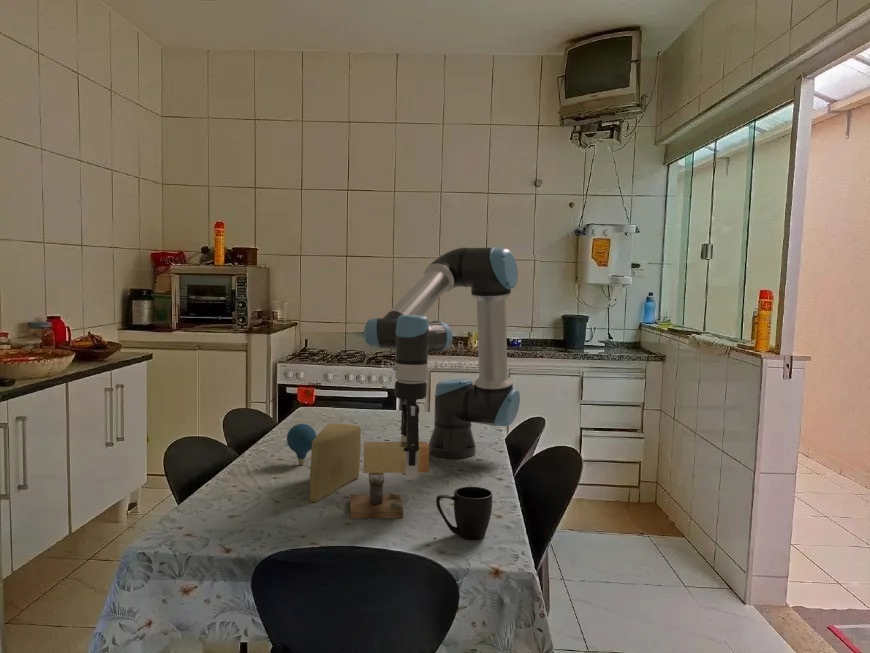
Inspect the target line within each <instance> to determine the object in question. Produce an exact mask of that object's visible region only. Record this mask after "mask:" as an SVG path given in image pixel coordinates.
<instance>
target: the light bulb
mask: <svg viewBox="0 0 870 653" xmlns="http://www.w3.org/2000/svg"><path fill="white" fill-rule="evenodd" d="M316 436H317V434H316V431H315V429H314V428H313V427H312V426H311V425H310V424H306V423H298V424H296V425H295V424H294V425H293V426H292V427H291V428H290V429H289V431H288V432H287V434H286V443H287V446H288V447H289V449H290V450H291V451H293V452H294V453H295V455H296V457H297V465H298V464H299V466H303V465H305V462H306V461H305V459H306V456H307V454H308V453H309V452H310V451H312V442H313V440H314V439H315V438H316Z"/></svg>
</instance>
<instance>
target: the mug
mask: <svg viewBox="0 0 870 653" xmlns="http://www.w3.org/2000/svg"><path fill="white" fill-rule="evenodd" d="M435 498H436V499H435V501H436V502H435V505H436V507H437V508H436V509H437V510H438V511H439V514H440V515H441V518H442V519H443V520H444V521H443V522H445V524H446V525H447V527H448V528H449V530H450V531H451V532H452V533H453V534H454V535H458V536H459V538H461V539H463V540H466V541H473V542H474V541H480V540H484V538H485V536H486V533H487V530H488V528H489V524H490V520H491V515H492V512H493V492H492V491H491V490H490V489H487V488H484V487H481V486H462V487H458V488H456V489H455V490H454V491H453V496H452V495H446V494H440V495H437V496H436V497H435ZM441 499H450V500H451V501H453V513H454V519H455V524H456V526H454V525H452V524H451V523H450V521H449V520H448V519H447V517H446V515H445V513H444V511H443V509H442V507H441V503H440V500H441Z"/></svg>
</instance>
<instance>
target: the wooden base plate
mask: <svg viewBox="0 0 870 653" xmlns="http://www.w3.org/2000/svg"><path fill="white" fill-rule="evenodd" d="M383 485H384V483H383V484H370V483H369V494H350V496H349V500H350V501H349V506H350V507H349V510H350V511H349V512H350V514H349V515H350V516H349V517H350V518H349V519H350V520H351V519H352V520H353V519H355V520H356V519H358V520H361V519H403V518H404V509H403V504H402V503H403V502H402V499H401V495H400V492H388V493H383V492H384V488H383V487H384V486H383Z"/></svg>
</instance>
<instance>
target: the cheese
mask: <svg viewBox="0 0 870 653" xmlns="http://www.w3.org/2000/svg"><path fill="white" fill-rule="evenodd" d="M361 432H362V430H361V426H360V425H355V424H345V423H344V424H343V423H328V424H326V426H324V428H323V429H322V430H320V432H319V433H318V434H316V438H315V439H314V440H313V442H312V449H311V454H310V455H311V456H310V457H311V458H310V470H309V499H310V502H312V503H318V502H320V501H321V500H322V499H324V498H326V497H327V496H328V495H331V494H333V492H335V491H337V490H338V489H341V488H342V487H343V486H345V485H347V484H349V483H351V482H353V481H354V480H356V479H358V478H359V476H360V466H361V465H360V463H361V445H362V444H361V442H362V438H361V436H362V434H361Z"/></svg>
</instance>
